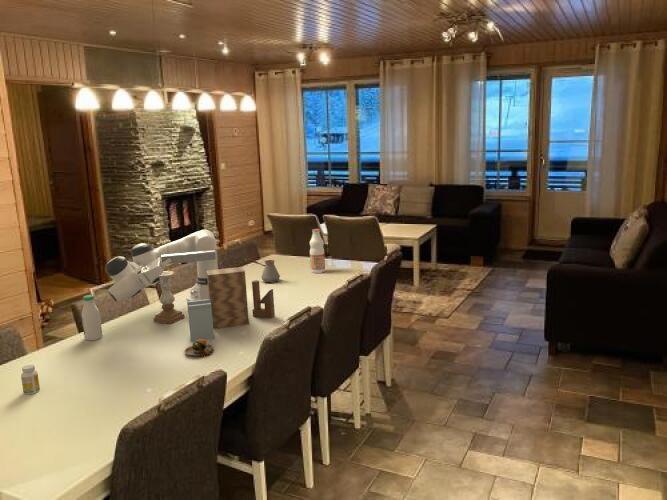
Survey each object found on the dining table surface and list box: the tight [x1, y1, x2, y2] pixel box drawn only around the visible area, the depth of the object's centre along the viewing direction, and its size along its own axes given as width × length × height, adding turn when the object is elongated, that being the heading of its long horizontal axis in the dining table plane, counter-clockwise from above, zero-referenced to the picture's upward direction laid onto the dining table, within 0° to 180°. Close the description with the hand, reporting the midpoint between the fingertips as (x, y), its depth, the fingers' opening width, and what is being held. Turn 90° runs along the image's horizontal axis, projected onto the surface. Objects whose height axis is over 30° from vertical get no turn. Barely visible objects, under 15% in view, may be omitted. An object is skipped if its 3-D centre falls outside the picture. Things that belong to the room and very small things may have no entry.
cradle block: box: [186, 299, 215, 342], centre depth 254 cm, size 10×8×16 cm
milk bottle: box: [81, 294, 103, 341], centre depth 258 cm, size 8×8×20 cm
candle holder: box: [152, 270, 186, 325], centre depth 280 cm, size 11×11×24 cm
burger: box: [184, 335, 215, 358], centre depth 236 cm, size 12×12×8 cm
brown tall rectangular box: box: [207, 266, 250, 330], centre depth 270 cm, size 17×10×26 cm, turn 106°
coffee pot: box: [244, 257, 281, 283], centre depth 349 cm, size 21×12×15 cm, turn 81°
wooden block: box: [251, 279, 276, 319], centre depth 279 cm, size 4×11×18 cm, turn 67°
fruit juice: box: [309, 228, 326, 274], centre depth 366 cm, size 9×9×28 cm
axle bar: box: [161, 250, 216, 265], centre depth 250 cm, size 23×4×4 cm, turn 105°
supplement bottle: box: [20, 364, 41, 396], centre depth 205 cm, size 5×5×10 cm
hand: (170, 258), depth 248 cm, fingers closed on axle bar, 4 cm apart
